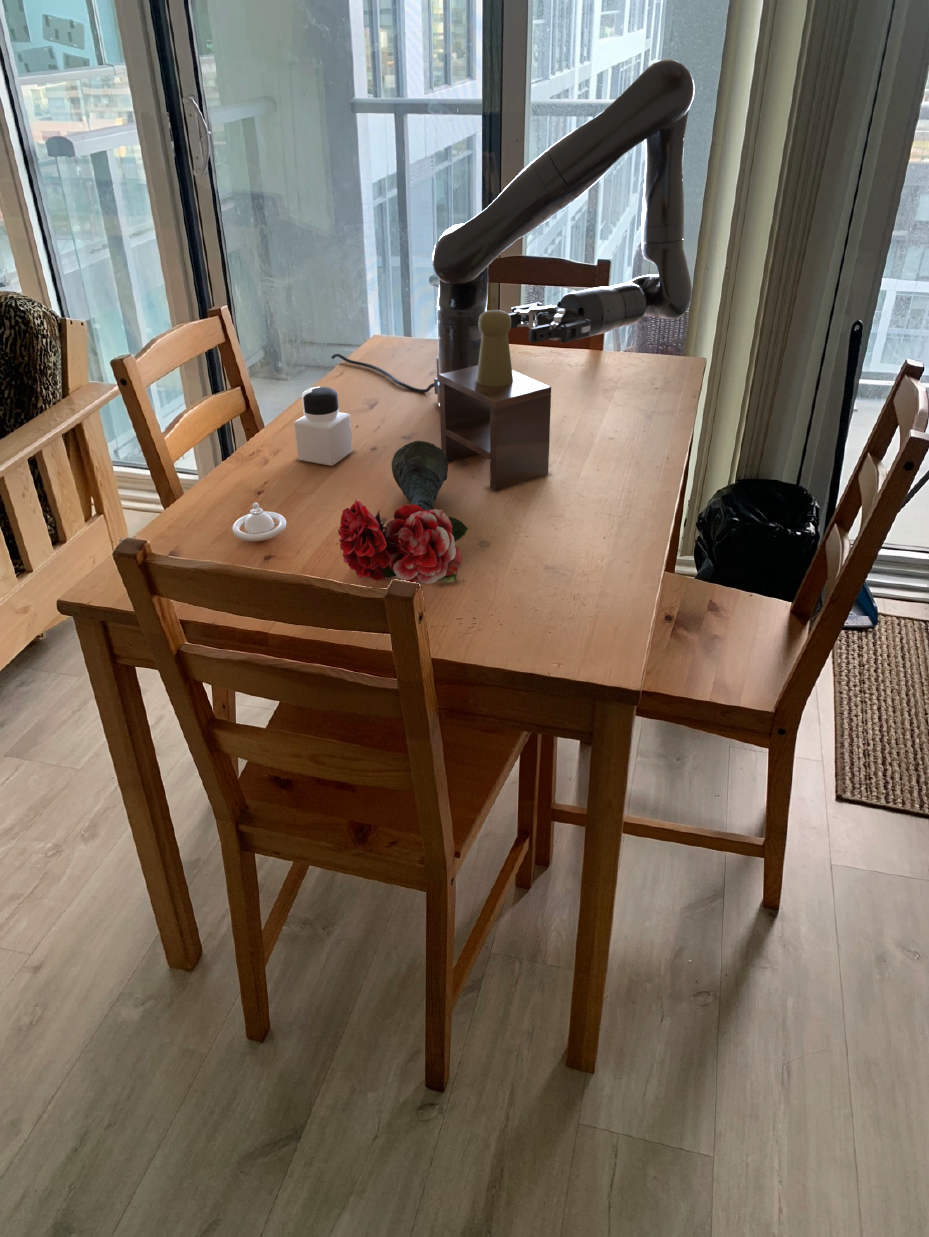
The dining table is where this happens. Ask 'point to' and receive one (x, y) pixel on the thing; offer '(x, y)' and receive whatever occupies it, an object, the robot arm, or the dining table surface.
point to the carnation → (406, 525)
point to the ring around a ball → (259, 525)
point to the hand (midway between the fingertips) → (514, 329)
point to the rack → (497, 424)
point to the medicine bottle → (322, 428)
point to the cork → (494, 349)
